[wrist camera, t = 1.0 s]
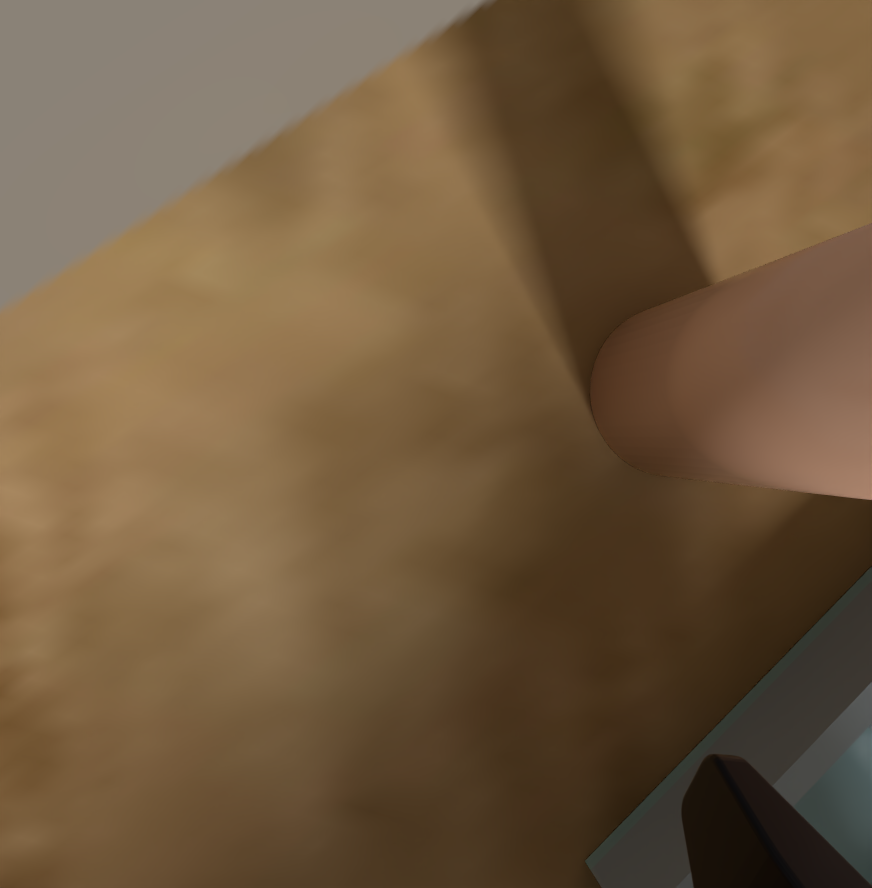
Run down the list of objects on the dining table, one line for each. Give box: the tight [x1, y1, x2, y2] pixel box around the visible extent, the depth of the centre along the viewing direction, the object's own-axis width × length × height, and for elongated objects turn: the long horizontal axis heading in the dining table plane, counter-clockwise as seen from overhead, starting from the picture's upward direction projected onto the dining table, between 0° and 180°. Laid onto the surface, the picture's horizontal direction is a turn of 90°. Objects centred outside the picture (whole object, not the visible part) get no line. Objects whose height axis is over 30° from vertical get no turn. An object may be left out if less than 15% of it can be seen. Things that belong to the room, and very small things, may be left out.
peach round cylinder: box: [590, 223, 872, 500], centre depth 17 cm, size 5×5×13 cm
